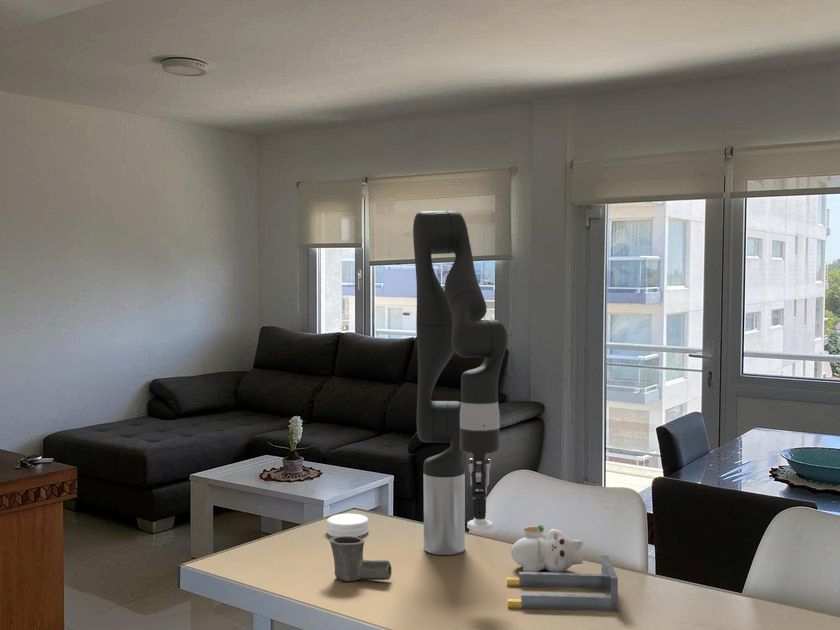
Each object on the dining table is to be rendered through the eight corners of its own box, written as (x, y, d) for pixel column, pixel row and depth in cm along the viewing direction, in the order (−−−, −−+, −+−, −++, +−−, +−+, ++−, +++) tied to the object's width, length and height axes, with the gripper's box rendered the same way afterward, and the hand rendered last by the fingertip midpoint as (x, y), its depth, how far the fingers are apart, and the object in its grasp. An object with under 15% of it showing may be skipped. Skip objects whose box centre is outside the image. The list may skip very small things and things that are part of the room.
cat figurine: (506, 523, 164) (578, 520, 159) (516, 533, 171) (585, 531, 166) (506, 569, 160) (580, 569, 155) (515, 578, 166) (587, 578, 161)
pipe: (386, 587, 154) (386, 547, 154) (324, 582, 157) (323, 542, 156) (394, 576, 160) (394, 537, 159) (334, 572, 163) (334, 533, 162)
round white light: (318, 533, 189) (318, 519, 189) (347, 524, 197) (347, 510, 197) (347, 542, 183) (347, 527, 183) (377, 532, 190) (377, 517, 190)
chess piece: (495, 524, 151) (495, 472, 151) (489, 531, 146) (488, 478, 146) (470, 522, 153) (470, 470, 152) (463, 529, 148) (463, 476, 148)
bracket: (506, 583, 155) (506, 553, 155) (607, 586, 154) (607, 555, 153) (507, 607, 143) (507, 575, 143) (617, 611, 142) (617, 578, 141)
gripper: (499, 432, 142) (499, 527, 142) (499, 419, 155) (500, 507, 156) (457, 431, 142) (457, 526, 143) (461, 419, 156) (462, 506, 157)
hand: (479, 515), depth 149 cm, fingers closed on chess piece
